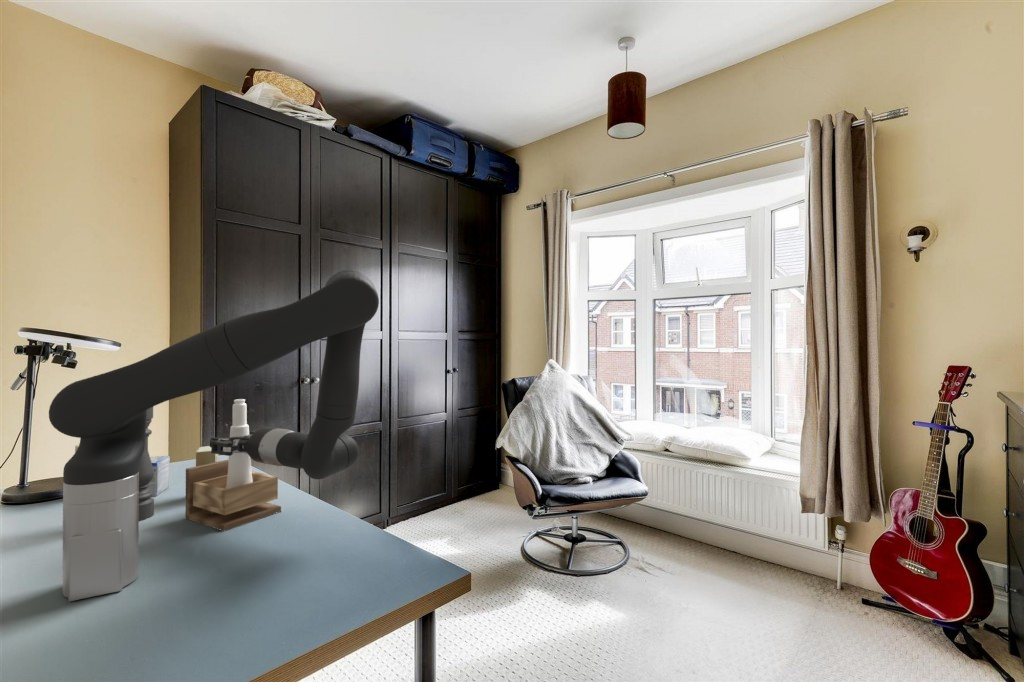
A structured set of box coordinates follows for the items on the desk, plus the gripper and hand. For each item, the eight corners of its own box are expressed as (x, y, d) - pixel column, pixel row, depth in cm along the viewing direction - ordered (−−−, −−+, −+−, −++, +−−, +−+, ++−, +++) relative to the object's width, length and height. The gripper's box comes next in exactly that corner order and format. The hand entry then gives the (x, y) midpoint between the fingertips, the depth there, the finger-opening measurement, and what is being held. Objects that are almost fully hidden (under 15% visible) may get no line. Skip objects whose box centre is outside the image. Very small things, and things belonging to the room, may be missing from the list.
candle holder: (161, 512, 108) (161, 403, 108) (136, 523, 102) (137, 406, 102) (136, 511, 108) (136, 402, 109) (110, 522, 102) (111, 406, 102)
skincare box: (199, 494, 122) (199, 446, 122) (219, 491, 123) (219, 444, 123) (194, 501, 116) (195, 451, 116) (215, 499, 117) (215, 449, 118)
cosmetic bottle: (221, 496, 107) (220, 399, 107) (250, 490, 111) (250, 397, 111) (228, 503, 103) (227, 401, 103) (258, 496, 107) (258, 399, 107)
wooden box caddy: (280, 511, 109) (281, 463, 109) (223, 531, 98) (223, 477, 98) (243, 501, 116) (243, 456, 116) (185, 518, 104) (185, 468, 105)
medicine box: (150, 488, 126) (150, 456, 126) (169, 487, 127) (170, 455, 127) (136, 498, 118) (136, 463, 118) (157, 496, 120) (157, 462, 120)
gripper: (306, 423, 106) (261, 418, 114) (243, 434, 93) (198, 427, 101) (306, 457, 106) (261, 449, 114) (243, 472, 93) (198, 462, 101)
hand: (231, 438), depth 107 cm, fingers open, 8 cm apart
